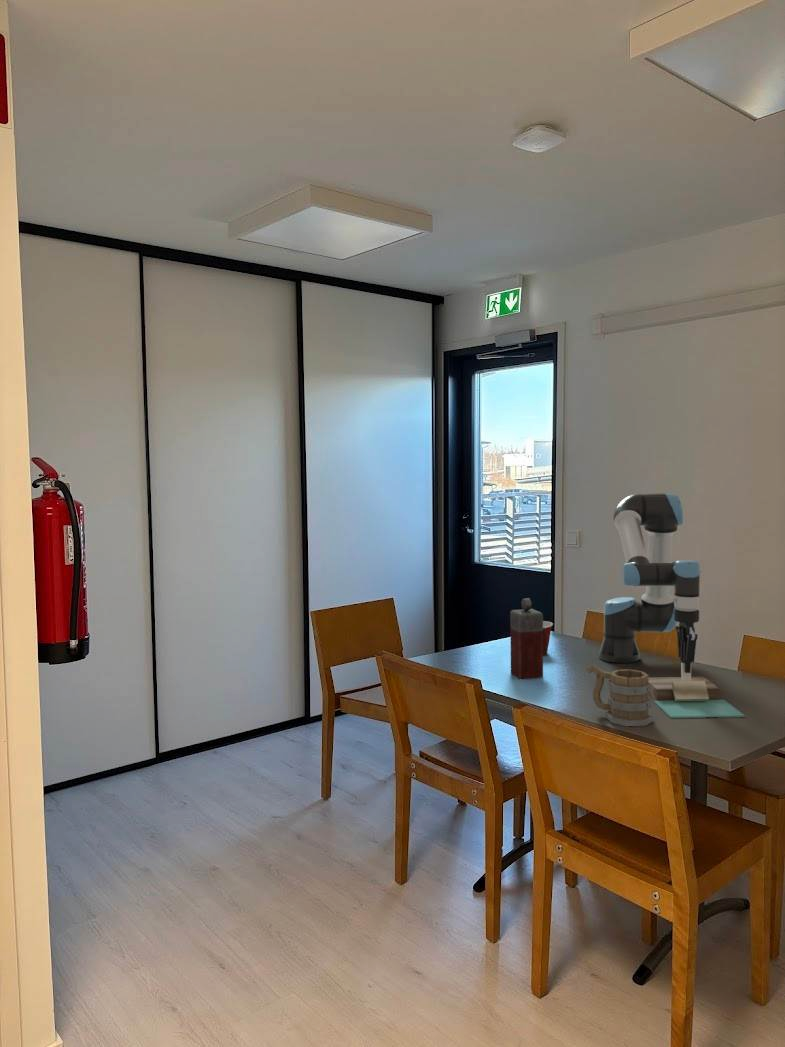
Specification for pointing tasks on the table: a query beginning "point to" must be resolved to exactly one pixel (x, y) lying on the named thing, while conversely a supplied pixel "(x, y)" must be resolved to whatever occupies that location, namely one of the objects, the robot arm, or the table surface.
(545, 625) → the plastic cup
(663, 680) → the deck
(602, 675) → the tankard
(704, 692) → the tile
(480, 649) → the table surface
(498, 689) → the table surface
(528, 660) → the toy vending machine
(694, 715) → the mat
